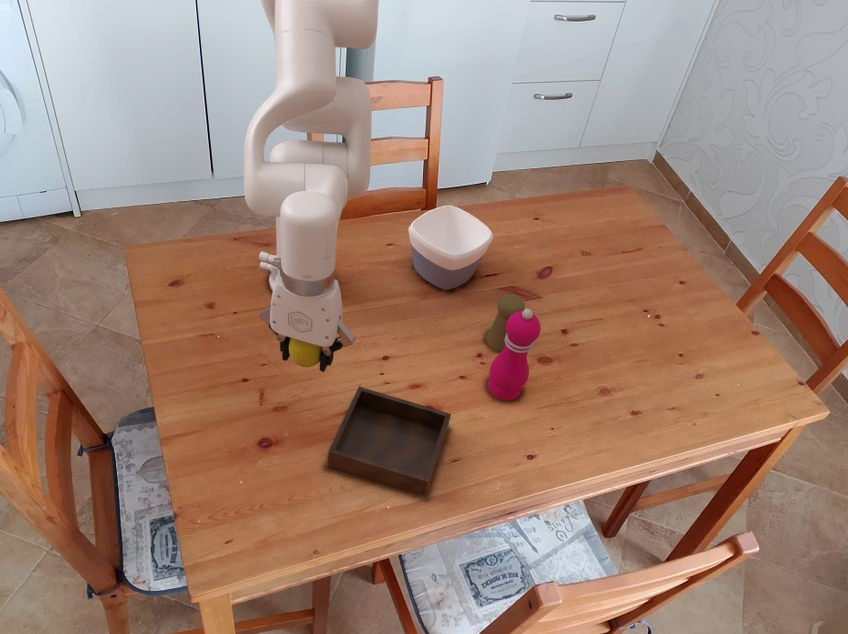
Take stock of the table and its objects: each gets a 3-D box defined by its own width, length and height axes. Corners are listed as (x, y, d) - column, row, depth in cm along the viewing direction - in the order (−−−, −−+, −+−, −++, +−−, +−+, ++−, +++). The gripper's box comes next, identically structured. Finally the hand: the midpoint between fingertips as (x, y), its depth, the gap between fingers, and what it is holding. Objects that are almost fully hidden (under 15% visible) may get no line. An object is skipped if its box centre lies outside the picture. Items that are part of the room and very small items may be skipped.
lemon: (329, 359, 119) (331, 324, 113) (313, 381, 115) (314, 347, 109) (299, 347, 120) (299, 312, 114) (282, 370, 116) (281, 334, 110)
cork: (513, 355, 143) (526, 314, 135) (483, 347, 143) (494, 306, 135) (518, 334, 147) (530, 294, 139) (489, 326, 147) (499, 286, 139)
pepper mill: (497, 407, 133) (521, 329, 118) (478, 378, 137) (499, 300, 123) (530, 396, 136) (557, 320, 121) (510, 369, 140) (535, 292, 126)
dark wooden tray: (327, 467, 118) (328, 451, 115) (357, 402, 129) (358, 386, 126) (425, 496, 117) (428, 482, 114) (447, 429, 128) (451, 413, 124)
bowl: (493, 274, 159) (503, 234, 151) (446, 305, 150) (454, 263, 142) (441, 239, 165) (449, 198, 157) (393, 266, 156) (398, 224, 148)
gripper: (239, 273, 102) (245, 361, 115) (356, 307, 101) (349, 391, 114) (262, 242, 107) (265, 330, 120) (373, 274, 106) (365, 359, 119)
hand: (306, 359), depth 117 cm, fingers closed on lemon, 5 cm apart
